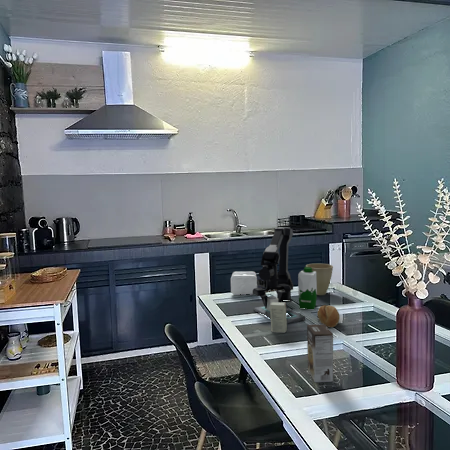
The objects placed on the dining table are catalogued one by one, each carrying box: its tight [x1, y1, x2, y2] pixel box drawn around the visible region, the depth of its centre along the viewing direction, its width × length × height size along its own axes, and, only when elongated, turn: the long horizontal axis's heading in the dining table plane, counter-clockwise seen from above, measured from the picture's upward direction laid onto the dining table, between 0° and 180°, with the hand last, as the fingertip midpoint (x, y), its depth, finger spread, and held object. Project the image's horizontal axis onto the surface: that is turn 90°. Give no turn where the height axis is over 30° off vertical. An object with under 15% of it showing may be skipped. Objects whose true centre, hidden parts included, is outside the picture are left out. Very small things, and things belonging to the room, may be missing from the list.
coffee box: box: [306, 323, 334, 383], centre depth 137 cm, size 9×6×16 cm
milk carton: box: [297, 266, 318, 310], centre depth 211 cm, size 9×9×20 cm
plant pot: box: [305, 263, 334, 296], centre depth 236 cm, size 15×15×16 cm
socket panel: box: [253, 305, 306, 324], centre depth 201 cm, size 14×24×2 cm, turn 24°
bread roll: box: [316, 305, 341, 328], centre depth 187 cm, size 10×15×8 cm, turn 174°
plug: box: [266, 295, 278, 311], centre depth 206 cm, size 4×4×8 cm
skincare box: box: [270, 302, 288, 333], centre depth 180 cm, size 6×4×12 cm
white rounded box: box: [230, 271, 258, 296], centre depth 242 cm, size 15×11×12 cm
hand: (272, 306), depth 206 cm, fingers open, 7 cm apart
